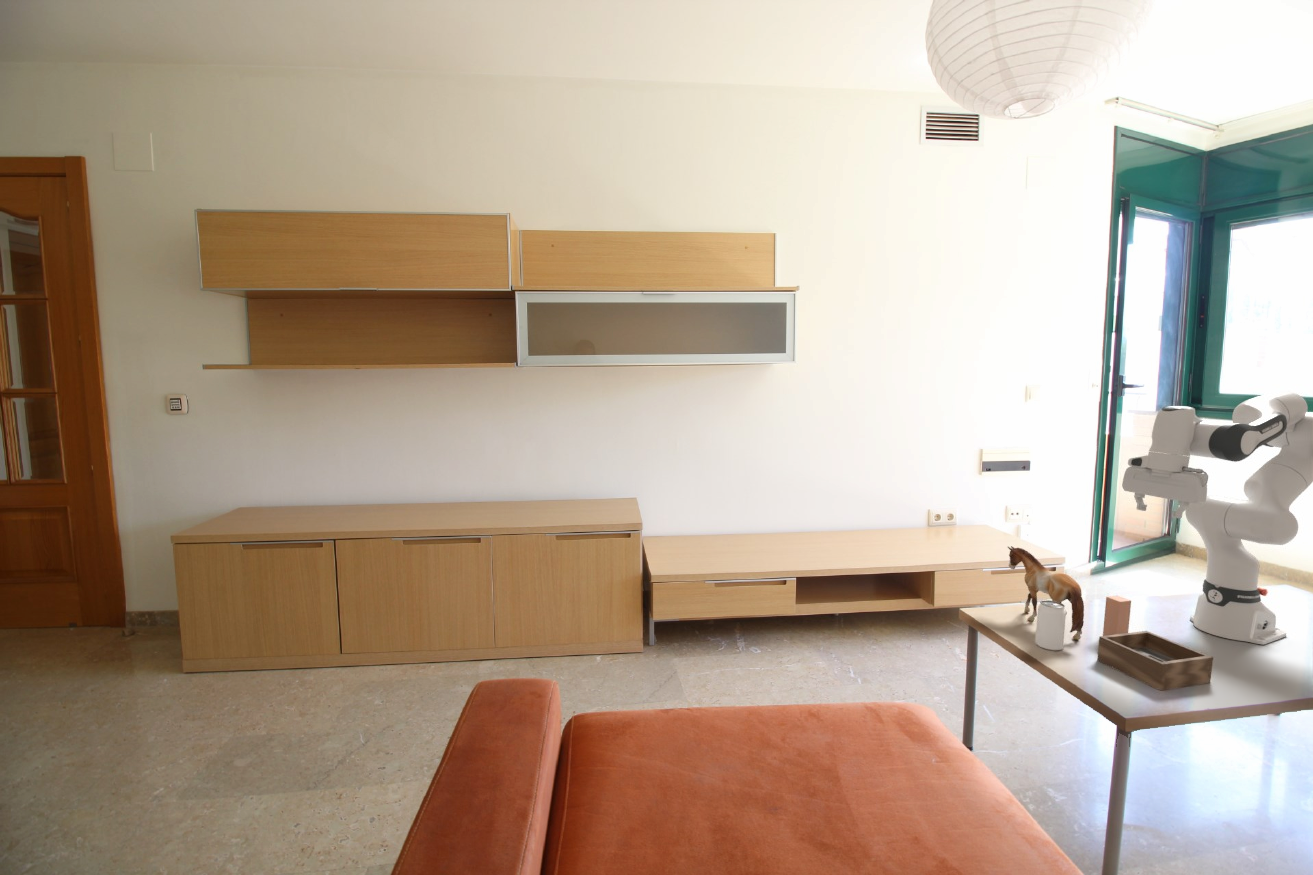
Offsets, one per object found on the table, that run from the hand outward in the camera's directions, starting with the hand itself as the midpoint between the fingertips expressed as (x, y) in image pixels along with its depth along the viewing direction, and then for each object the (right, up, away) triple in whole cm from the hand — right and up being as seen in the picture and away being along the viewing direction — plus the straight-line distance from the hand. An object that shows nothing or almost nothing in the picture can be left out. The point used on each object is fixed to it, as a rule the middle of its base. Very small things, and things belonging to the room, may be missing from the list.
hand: (1158, 513), depth 173 cm
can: (-31, -36, -1) cm, 48 cm away
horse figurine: (-26, -35, +12) cm, 45 cm away
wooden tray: (-13, -38, -15) cm, 43 cm away
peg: (-9, -36, +4) cm, 37 cm away
